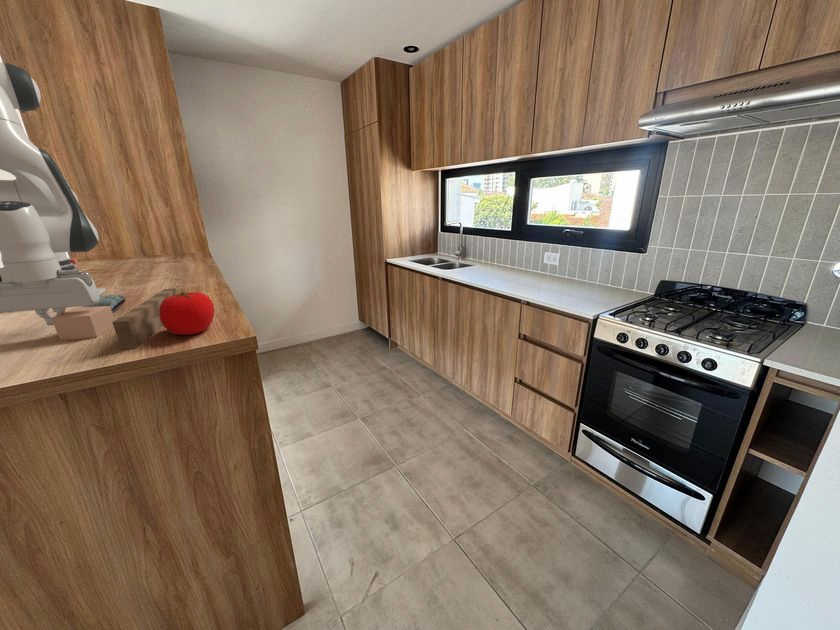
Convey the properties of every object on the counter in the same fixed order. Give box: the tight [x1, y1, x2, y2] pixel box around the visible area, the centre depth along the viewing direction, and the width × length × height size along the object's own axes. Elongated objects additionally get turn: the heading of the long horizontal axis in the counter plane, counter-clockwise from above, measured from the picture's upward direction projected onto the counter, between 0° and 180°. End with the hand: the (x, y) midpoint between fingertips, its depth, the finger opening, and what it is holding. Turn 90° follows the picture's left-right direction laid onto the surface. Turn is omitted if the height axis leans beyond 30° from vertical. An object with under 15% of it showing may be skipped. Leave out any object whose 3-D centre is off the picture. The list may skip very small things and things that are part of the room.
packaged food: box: [80, 294, 126, 314], centre depth 104 cm, size 9×12×5 cm
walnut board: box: [112, 288, 178, 350], centre depth 91 cm, size 30×3×7 cm, turn 17°
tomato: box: [159, 291, 215, 336], centre depth 87 cm, size 12×13×11 cm
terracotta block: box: [51, 306, 116, 341], centre depth 87 cm, size 8×8×6 cm
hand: (56, 324), depth 85 cm, fingers closed
